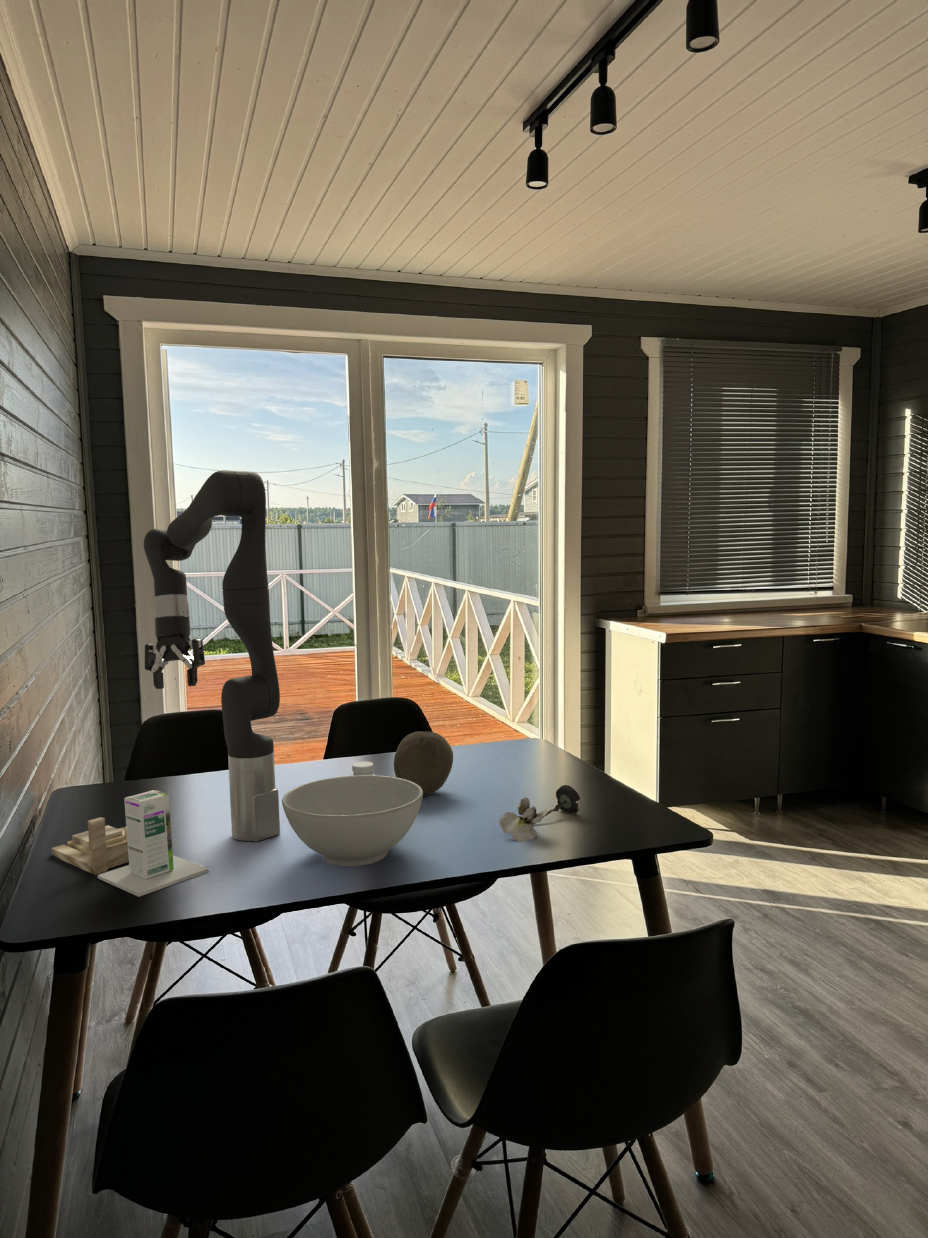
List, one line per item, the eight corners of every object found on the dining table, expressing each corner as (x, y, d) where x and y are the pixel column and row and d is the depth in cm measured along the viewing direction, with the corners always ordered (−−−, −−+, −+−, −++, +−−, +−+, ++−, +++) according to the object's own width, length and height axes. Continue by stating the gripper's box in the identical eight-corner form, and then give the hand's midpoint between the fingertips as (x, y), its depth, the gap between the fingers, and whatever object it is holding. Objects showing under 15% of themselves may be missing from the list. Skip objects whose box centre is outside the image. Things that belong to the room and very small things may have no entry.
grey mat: (208, 871, 158) (208, 868, 157) (138, 897, 147) (138, 893, 147) (166, 855, 166) (166, 852, 166) (97, 878, 156) (97, 875, 155)
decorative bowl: (257, 857, 165) (254, 795, 164) (367, 823, 183) (365, 768, 182) (340, 895, 146) (337, 826, 144) (453, 853, 164) (451, 791, 163)
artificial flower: (588, 822, 185) (595, 783, 181) (519, 862, 170) (525, 820, 166) (557, 804, 191) (562, 765, 187) (487, 841, 176) (492, 800, 172)
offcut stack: (127, 845, 173) (126, 830, 172) (84, 858, 166) (83, 843, 166) (109, 838, 177) (108, 824, 177) (66, 851, 170) (65, 836, 170)
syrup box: (145, 880, 152) (141, 801, 151) (128, 873, 156) (123, 796, 155) (174, 870, 157) (170, 793, 155) (156, 863, 160) (152, 788, 159)
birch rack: (167, 851, 169) (165, 802, 168) (94, 875, 157) (91, 822, 156) (123, 834, 179) (120, 788, 179) (51, 855, 168) (48, 806, 167)
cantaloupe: (448, 803, 196) (446, 739, 194) (388, 802, 198) (386, 738, 197) (458, 786, 210) (456, 726, 208) (402, 785, 212) (400, 725, 211)
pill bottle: (343, 818, 187) (341, 766, 186) (360, 809, 193) (358, 759, 192) (368, 822, 184) (366, 769, 183) (384, 813, 190) (383, 762, 189)
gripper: (134, 618, 192) (138, 690, 190) (189, 611, 188) (193, 685, 186) (156, 620, 199) (159, 689, 198) (208, 614, 195) (212, 684, 194)
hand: (175, 687), depth 192 cm, fingers open, 8 cm apart
